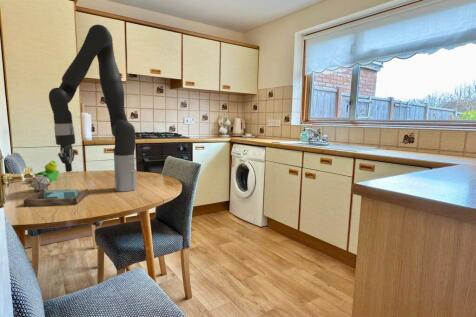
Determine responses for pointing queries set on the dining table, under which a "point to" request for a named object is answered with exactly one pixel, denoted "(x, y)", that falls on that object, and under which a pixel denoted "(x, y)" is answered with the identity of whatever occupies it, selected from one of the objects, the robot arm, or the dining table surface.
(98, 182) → the dining table surface
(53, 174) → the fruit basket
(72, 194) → the teal T block
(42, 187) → the game die
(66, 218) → the dining table surface
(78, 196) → the walnut bay
